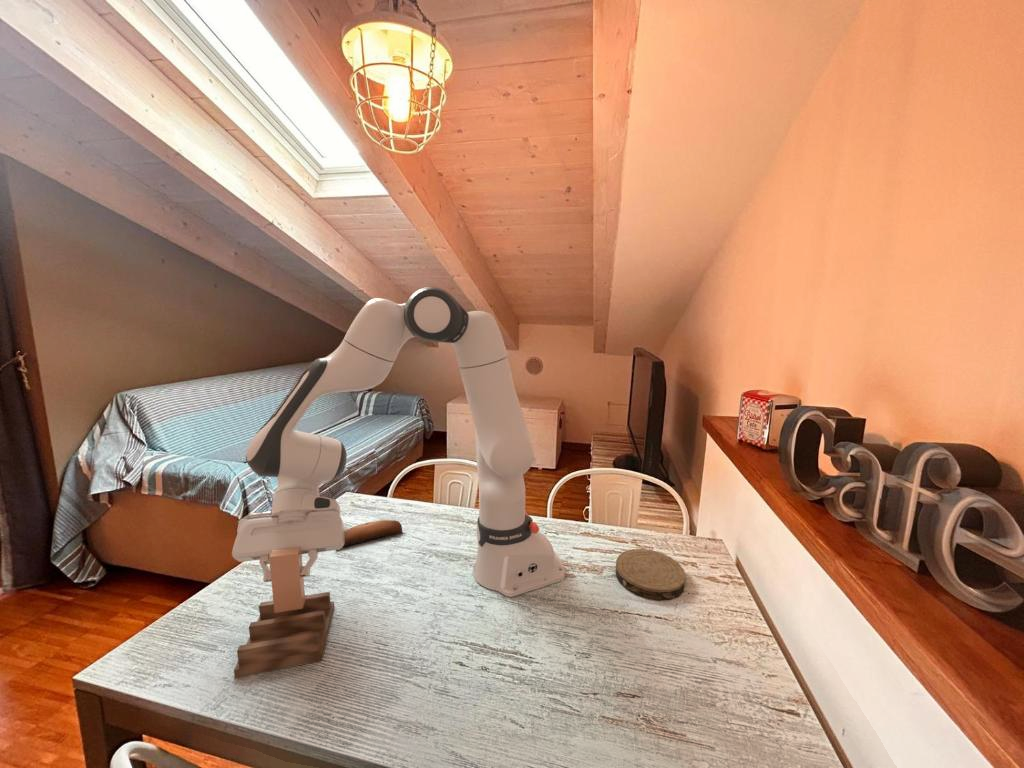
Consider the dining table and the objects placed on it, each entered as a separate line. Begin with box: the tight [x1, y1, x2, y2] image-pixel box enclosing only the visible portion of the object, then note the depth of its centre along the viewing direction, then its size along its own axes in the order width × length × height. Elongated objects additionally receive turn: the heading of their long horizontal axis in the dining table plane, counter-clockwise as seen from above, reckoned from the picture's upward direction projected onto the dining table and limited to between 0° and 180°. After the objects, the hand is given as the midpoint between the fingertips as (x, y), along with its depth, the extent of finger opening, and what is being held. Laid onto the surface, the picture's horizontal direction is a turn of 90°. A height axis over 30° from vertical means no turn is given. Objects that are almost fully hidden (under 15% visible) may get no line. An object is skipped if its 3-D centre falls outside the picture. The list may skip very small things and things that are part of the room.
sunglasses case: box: [341, 519, 403, 549], centre depth 116 cm, size 18×7×7 cm
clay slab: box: [269, 547, 306, 613], centre depth 80 cm, size 5×2×12 cm, turn 105°
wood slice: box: [615, 548, 687, 602], centre depth 98 cm, size 16×16×3 cm
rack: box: [233, 591, 335, 678], centre depth 79 cm, size 14×14×4 cm
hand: (286, 578), depth 79 cm, fingers closed on clay slab, 5 cm apart
